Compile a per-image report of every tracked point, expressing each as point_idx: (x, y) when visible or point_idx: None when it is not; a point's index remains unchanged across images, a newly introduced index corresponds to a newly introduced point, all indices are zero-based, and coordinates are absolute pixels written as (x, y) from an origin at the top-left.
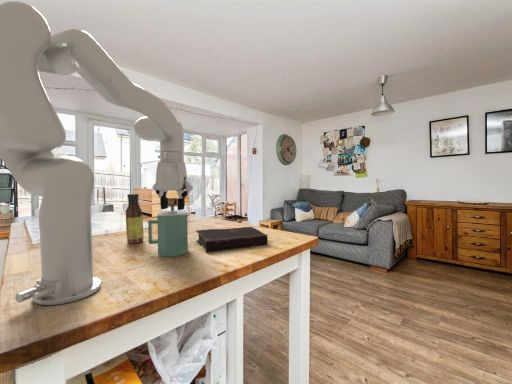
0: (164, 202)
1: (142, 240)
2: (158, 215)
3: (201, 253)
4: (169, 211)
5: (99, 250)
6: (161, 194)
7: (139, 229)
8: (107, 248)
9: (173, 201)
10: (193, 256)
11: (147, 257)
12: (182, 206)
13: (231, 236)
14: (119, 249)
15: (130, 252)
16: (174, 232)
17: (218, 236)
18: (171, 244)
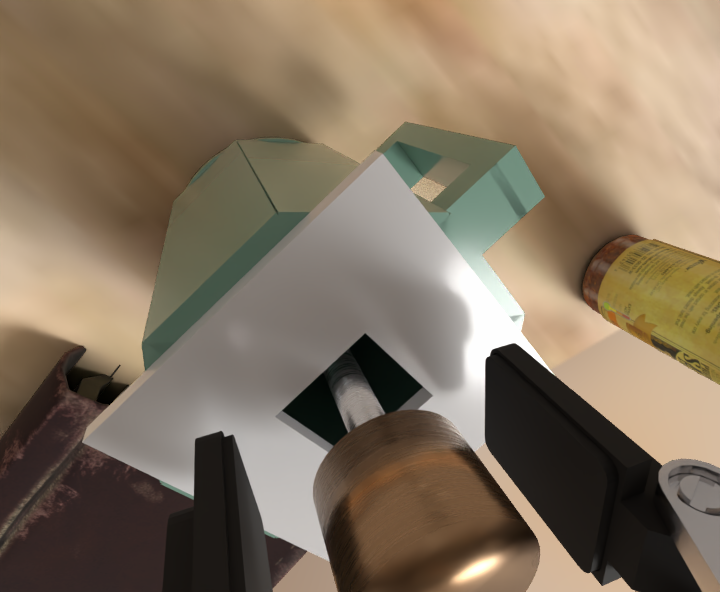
0: (543, 451)
1: (586, 295)
2: (429, 212)
3: (89, 316)
4: None
5: (701, 62)
6: (712, 538)
7: (649, 306)
8: (682, 113)
9: (351, 521)
10: (82, 243)
11: (355, 80)
12: (171, 524)
13: (6, 574)
14: (613, 130)
15: (521, 114)
16: (194, 223)
17: (96, 523)
18: (213, 176)
